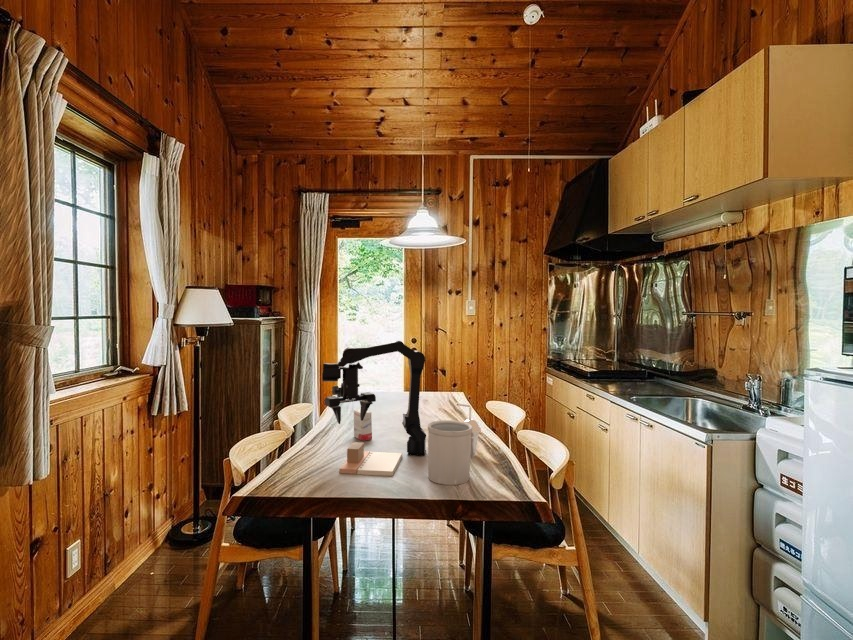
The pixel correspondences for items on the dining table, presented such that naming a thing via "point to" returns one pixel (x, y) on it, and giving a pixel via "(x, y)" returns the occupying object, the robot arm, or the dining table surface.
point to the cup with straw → (474, 433)
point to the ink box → (362, 426)
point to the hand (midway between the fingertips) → (350, 422)
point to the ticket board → (380, 464)
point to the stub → (354, 458)
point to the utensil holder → (449, 452)
